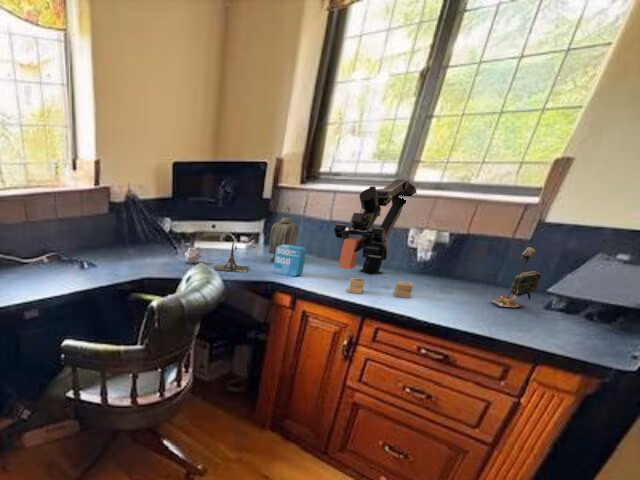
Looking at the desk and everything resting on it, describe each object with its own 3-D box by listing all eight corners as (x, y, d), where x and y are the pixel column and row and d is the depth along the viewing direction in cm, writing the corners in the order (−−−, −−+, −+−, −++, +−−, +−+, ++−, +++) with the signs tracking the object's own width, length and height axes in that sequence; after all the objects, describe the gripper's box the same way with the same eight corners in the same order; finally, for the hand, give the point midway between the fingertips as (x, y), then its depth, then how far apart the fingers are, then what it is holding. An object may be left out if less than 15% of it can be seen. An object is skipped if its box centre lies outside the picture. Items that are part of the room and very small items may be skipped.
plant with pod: (534, 310, 140) (563, 249, 131) (493, 307, 144) (519, 247, 134) (524, 303, 147) (550, 244, 137) (485, 300, 151) (508, 242, 141)
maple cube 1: (347, 289, 166) (350, 277, 164) (360, 290, 165) (363, 278, 162) (348, 292, 163) (351, 280, 160) (361, 293, 161) (364, 281, 159)
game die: (194, 270, 213) (208, 254, 209) (188, 267, 206) (201, 250, 202) (183, 259, 216) (195, 243, 212) (176, 256, 209) (189, 239, 204)
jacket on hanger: (276, 256, 219) (283, 205, 207) (293, 258, 215) (302, 206, 202) (266, 262, 209) (273, 208, 197) (284, 264, 204) (293, 209, 192)
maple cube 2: (393, 293, 161) (397, 281, 158) (407, 294, 159) (411, 282, 157) (395, 296, 157) (398, 284, 155) (409, 297, 155) (413, 285, 153)
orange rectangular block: (343, 265, 173) (349, 237, 168) (355, 267, 170) (361, 238, 165) (338, 267, 171) (344, 239, 165) (349, 269, 168) (356, 240, 162)
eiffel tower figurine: (248, 267, 201) (252, 238, 194) (245, 272, 193) (249, 242, 186) (217, 265, 206) (219, 237, 199) (213, 270, 197) (215, 241, 191)
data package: (272, 272, 192) (276, 245, 186) (277, 270, 194) (281, 243, 188) (297, 277, 184) (301, 249, 178) (302, 275, 186) (307, 247, 180)
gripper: (341, 202, 167) (321, 235, 167) (390, 206, 155) (370, 241, 154) (345, 221, 176) (327, 252, 175) (393, 225, 163) (374, 259, 162)
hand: (348, 251), depth 166 cm, fingers closed on orange rectangular block, 5 cm apart
